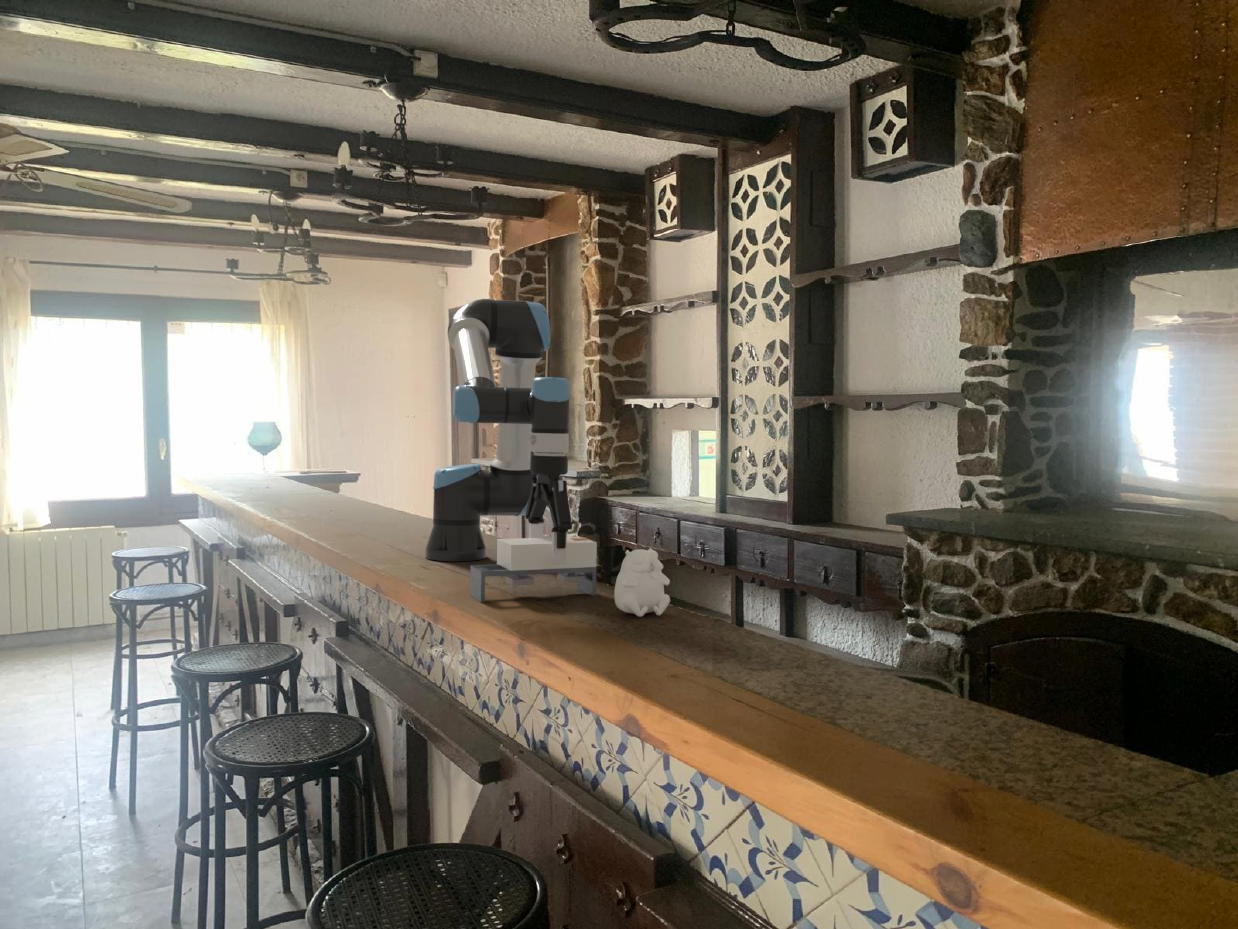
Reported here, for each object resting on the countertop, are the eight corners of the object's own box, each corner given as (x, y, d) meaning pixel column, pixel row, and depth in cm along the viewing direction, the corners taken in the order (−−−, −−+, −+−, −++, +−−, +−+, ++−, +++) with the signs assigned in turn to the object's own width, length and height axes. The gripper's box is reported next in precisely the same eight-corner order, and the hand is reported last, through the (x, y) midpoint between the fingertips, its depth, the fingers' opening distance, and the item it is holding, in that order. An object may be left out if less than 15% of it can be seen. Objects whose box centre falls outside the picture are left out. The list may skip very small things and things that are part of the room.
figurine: (604, 610, 174) (605, 546, 173) (650, 607, 178) (652, 544, 177) (627, 621, 165) (628, 554, 164) (675, 617, 169) (677, 552, 168)
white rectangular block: (496, 580, 187) (497, 537, 187) (578, 576, 195) (579, 535, 194) (510, 588, 179) (511, 543, 179) (595, 583, 187) (596, 540, 186)
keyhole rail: (469, 595, 184) (470, 565, 184) (581, 589, 194) (582, 560, 194) (480, 602, 178) (481, 571, 177) (595, 595, 188) (596, 566, 187)
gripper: (512, 451, 196) (509, 551, 197) (553, 457, 173) (551, 570, 174) (545, 452, 199) (543, 550, 200) (590, 457, 176) (587, 568, 177)
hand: (546, 559), depth 187 cm, fingers open, 13 cm apart
